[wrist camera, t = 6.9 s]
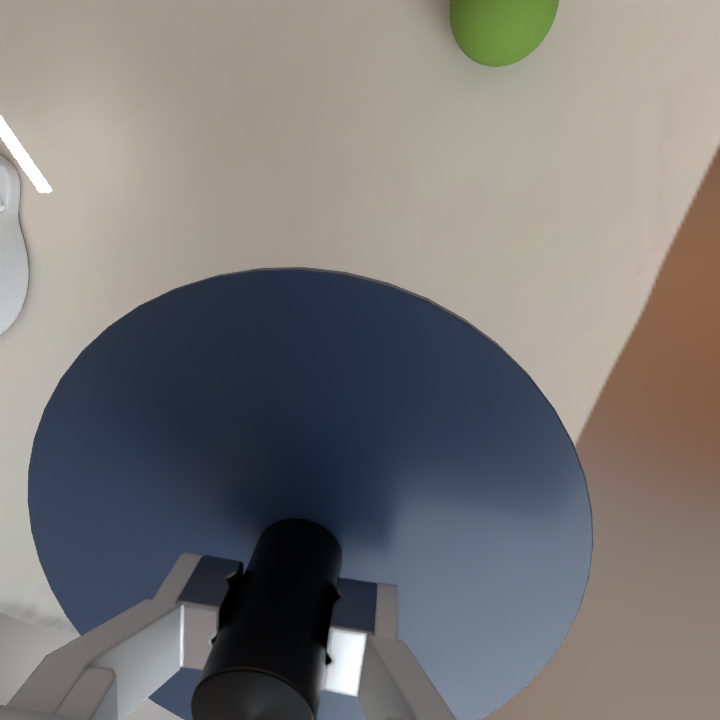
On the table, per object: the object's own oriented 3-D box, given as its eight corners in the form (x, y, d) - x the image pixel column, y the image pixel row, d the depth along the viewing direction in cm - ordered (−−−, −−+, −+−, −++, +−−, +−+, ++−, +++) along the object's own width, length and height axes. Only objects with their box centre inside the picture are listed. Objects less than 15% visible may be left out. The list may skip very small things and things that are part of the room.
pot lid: (-14, 577, 16) (-222, 762, 11) (187, 136, 11) (0, 69, 6) (384, 786, 17) (377, 1043, 12) (703, 470, 13) (920, 655, 7)
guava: (426, 18, 29) (432, -26, 23) (507, -56, 27) (532, -122, 22) (481, 99, 30) (498, 74, 24) (561, 31, 28) (598, -11, 23)
